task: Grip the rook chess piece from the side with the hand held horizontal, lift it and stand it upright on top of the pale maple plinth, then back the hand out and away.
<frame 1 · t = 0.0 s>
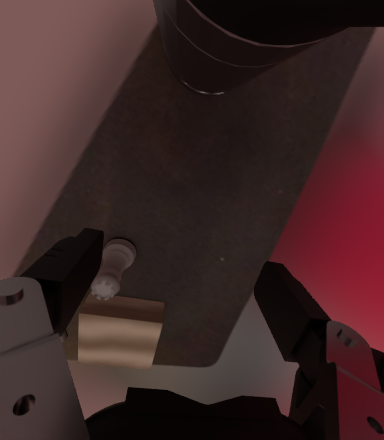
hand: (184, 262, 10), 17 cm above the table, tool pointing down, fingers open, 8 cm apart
rook chess piece: (121, 249, 30), on the table
maple plinth: (124, 321, 37), on the table
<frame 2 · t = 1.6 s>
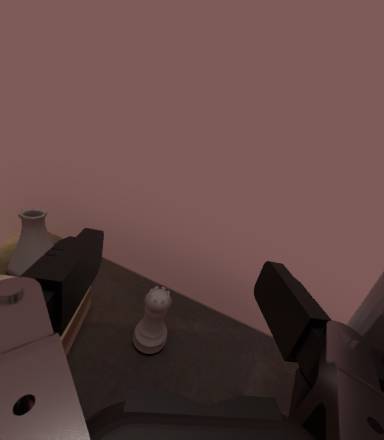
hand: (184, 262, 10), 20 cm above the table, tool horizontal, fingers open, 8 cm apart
rook chess piece: (149, 340, 28), on the table
flask: (36, 268, 35), on the table
maple plinth: (14, 343, 24), on the table
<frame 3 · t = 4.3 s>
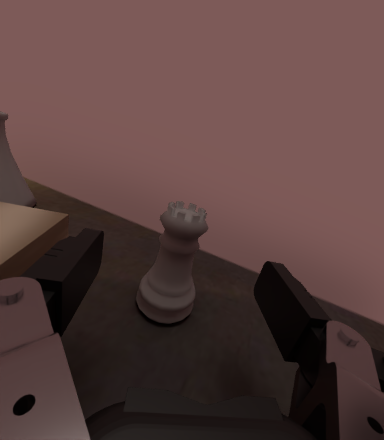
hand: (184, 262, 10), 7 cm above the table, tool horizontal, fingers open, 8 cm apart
rook chess piece: (163, 305, 16), on the table
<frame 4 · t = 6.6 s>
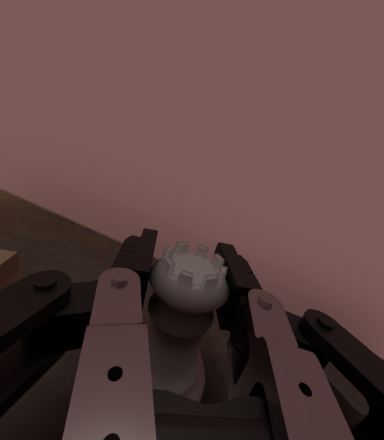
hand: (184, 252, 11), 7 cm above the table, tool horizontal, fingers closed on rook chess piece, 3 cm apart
rook chess piece: (157, 390, 11), on the table, touching gripper
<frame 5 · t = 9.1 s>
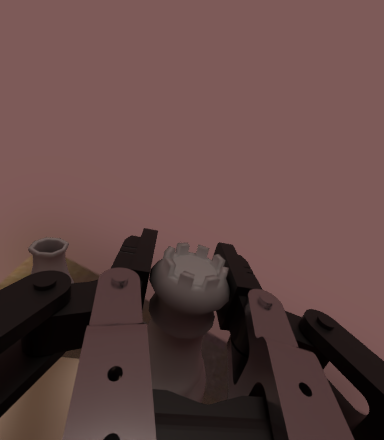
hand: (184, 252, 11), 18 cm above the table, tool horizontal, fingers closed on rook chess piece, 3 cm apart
rook chess piece: (157, 390, 11), point 11 cm above the table, touching gripper
flask: (51, 318, 25), on the table
when the fingers open (12 cm above the table, at t = 11.8 s): rook chess piece drops 1 cm, resting on maple plinth.
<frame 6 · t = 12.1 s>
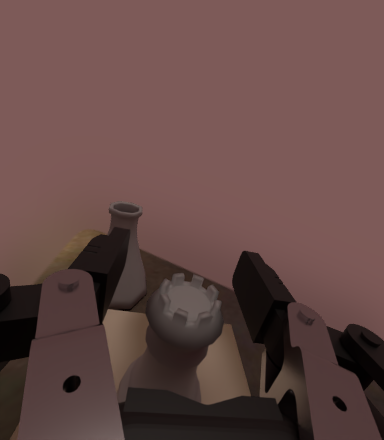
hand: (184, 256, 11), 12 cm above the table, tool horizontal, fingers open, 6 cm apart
rook chess piece: (155, 410, 11), point 4 cm above the table, touching maple plinth
flask: (115, 288, 24), on the table
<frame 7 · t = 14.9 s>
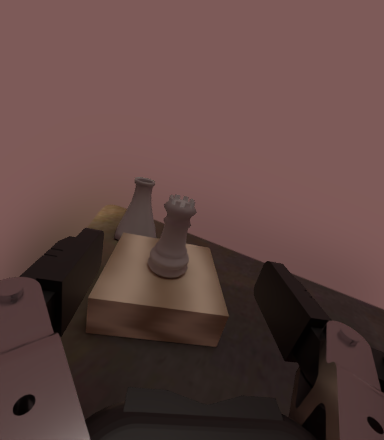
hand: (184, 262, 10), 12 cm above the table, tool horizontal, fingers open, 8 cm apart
rook chess piece: (166, 268, 23), point 4 cm above the table, touching maple plinth
flask: (136, 237, 36), on the table
maple plinth: (159, 293, 25), on the table
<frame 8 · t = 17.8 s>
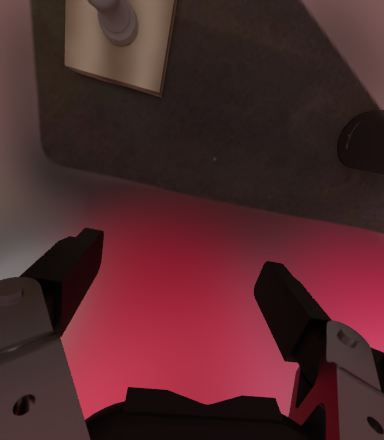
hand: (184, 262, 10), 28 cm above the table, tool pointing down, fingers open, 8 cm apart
rook chess piece: (120, 25, 25), point 4 cm above the table, touching maple plinth
maple plinth: (126, 36, 29), on the table
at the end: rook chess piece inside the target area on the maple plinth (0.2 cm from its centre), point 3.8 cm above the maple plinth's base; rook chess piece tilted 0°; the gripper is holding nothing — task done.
